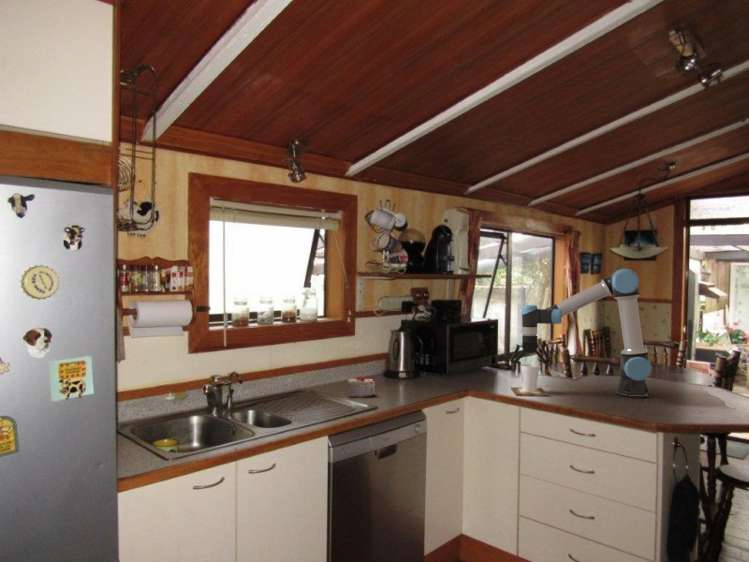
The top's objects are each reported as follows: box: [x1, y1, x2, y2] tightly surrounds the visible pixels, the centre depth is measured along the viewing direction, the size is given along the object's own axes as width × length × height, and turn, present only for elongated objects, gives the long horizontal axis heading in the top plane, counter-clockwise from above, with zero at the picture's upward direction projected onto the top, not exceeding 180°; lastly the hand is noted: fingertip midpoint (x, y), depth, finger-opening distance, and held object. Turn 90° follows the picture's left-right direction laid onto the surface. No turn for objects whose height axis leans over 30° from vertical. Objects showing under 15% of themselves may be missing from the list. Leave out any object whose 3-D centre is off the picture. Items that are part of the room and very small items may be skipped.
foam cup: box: [519, 363, 540, 392], centre depth 279 cm, size 10×9×13 cm
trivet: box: [510, 386, 550, 398], centre depth 279 cm, size 16×16×1 cm
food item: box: [346, 375, 376, 398], centre depth 270 cm, size 14×8×10 cm, turn 98°
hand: (530, 376), depth 279 cm, fingers open, 13 cm apart
